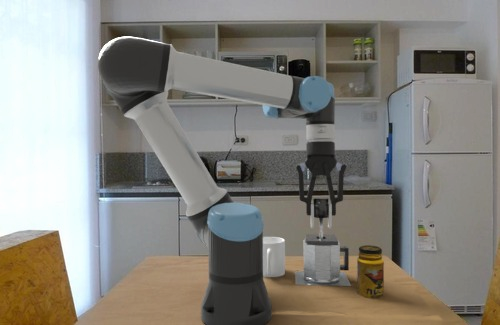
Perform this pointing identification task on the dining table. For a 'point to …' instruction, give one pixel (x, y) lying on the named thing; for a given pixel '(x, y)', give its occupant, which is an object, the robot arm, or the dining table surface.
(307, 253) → the carafe
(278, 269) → the cup
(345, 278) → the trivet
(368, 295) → the condiment
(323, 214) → the plunger
